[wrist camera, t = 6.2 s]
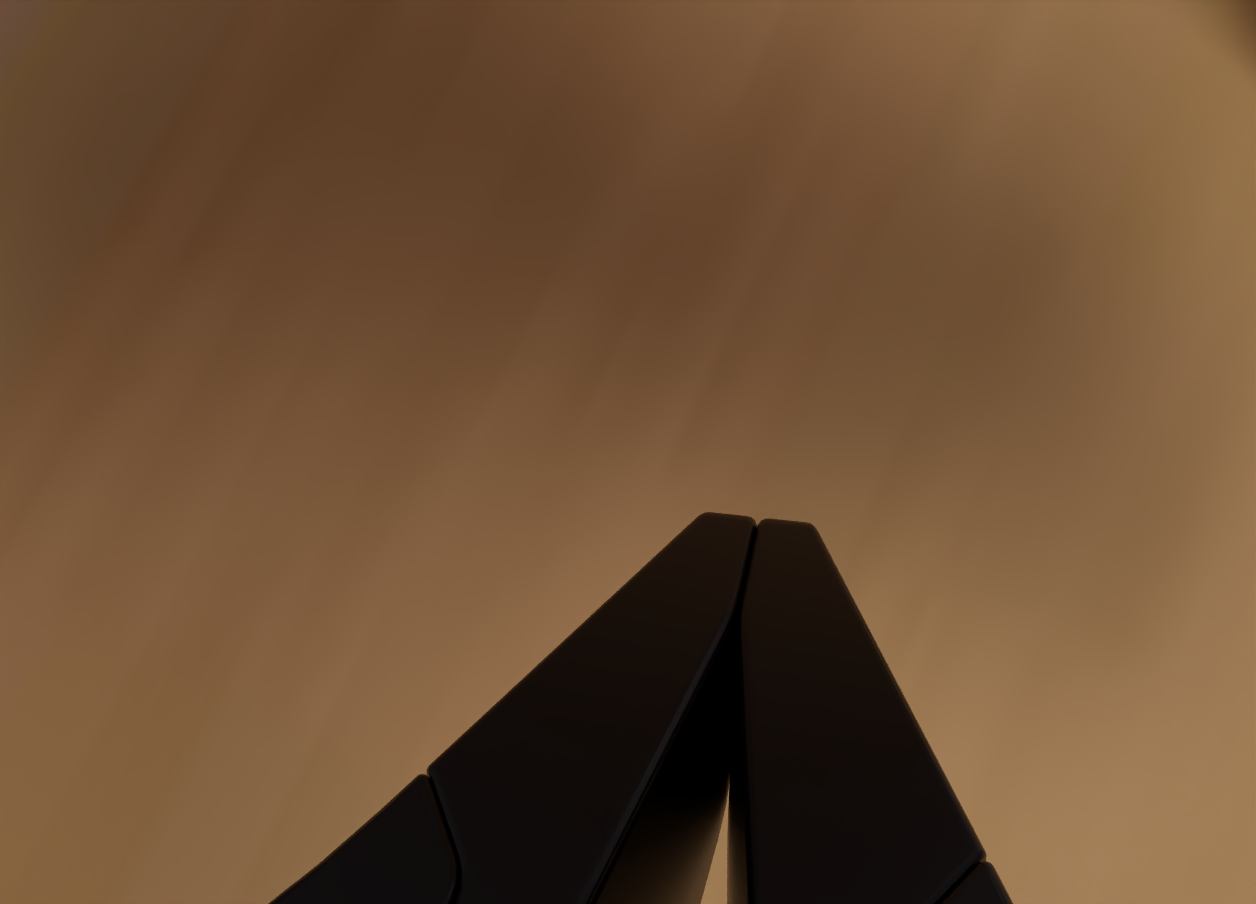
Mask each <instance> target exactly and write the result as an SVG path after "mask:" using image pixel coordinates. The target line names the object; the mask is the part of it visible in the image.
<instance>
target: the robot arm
mask: <svg viewBox="0 0 1256 904" xmlns="http://www.w3.org/2000/svg"><path fill="white" fill-rule="evenodd" d="M729 784H730V787H729ZM728 790H729V809H728V843H727V904H1013V902H1012V901H1011V899H1010V897H1009V895H1008V893H1007V891H1006V889H1005V887H1004V885H1003V883H1002V881H1001V879H1000V878H999V876H998V874H997V872H996V870H995V868H994V866H993V865H992V864H991V863H989V862H986V852H985V850H984V848H983V846H982V844H981V842H980V841H979V839H978V837H977V835H976V833H975V831H974V829H973V827H972V825H971V823H970V821H969V819H968V818H967V816H966V814H965V812H964V810H963V808H962V806H961V804H960V802H959V800H958V798H957V796H956V795H955V793H954V791H953V789H952V787H951V785H950V783H949V781H948V779H947V777H946V775H945V774H944V772H943V770H942V768H941V766H940V764H939V762H938V760H937V758H936V756H935V754H934V752H933V751H932V749H931V747H930V745H929V743H928V741H927V739H926V737H925V735H924V733H923V731H922V730H921V728H920V726H919V724H918V722H917V720H916V718H915V716H914V714H913V712H912V710H911V708H910V707H909V705H908V703H907V701H906V699H905V697H904V695H903V693H902V691H901V689H900V687H899V685H898V684H897V682H896V680H895V678H894V676H893V674H892V672H891V670H890V668H889V666H888V664H887V663H886V661H885V659H884V657H883V655H882V653H881V651H880V649H879V647H878V645H877V643H876V641H875V640H874V638H873V636H872V634H871V632H870V630H869V628H868V626H867V624H866V622H865V620H864V618H863V617H862V615H861V613H860V611H859V609H858V607H857V605H856V603H855V601H854V599H853V597H852V596H851V594H850V592H849V590H848V588H847V586H846V584H845V582H844V580H843V578H842V576H841V574H840V573H839V571H838V569H837V567H836V565H835V563H834V561H833V559H832V557H831V555H830V553H829V552H828V550H827V548H826V546H825V544H824V542H823V540H822V538H821V536H820V534H819V532H818V531H817V529H816V528H815V527H814V526H813V525H812V524H810V523H807V522H797V521H788V520H778V519H764V520H762V521H760V523H759V524H758V526H757V524H756V522H755V520H754V519H753V518H751V517H748V516H741V515H731V514H722V513H713V512H706V513H703V514H701V515H699V516H698V517H697V518H696V519H695V520H694V521H692V522H691V523H690V524H689V525H688V526H687V527H686V528H685V529H684V530H683V531H682V532H681V533H680V534H678V535H677V536H676V537H675V538H674V539H673V540H672V541H671V542H670V543H669V544H668V545H667V546H666V547H664V548H663V549H662V550H661V551H660V552H659V553H658V554H657V555H656V556H655V557H654V558H653V559H652V560H650V561H649V562H648V563H647V564H646V565H645V566H644V567H643V568H642V569H641V570H640V571H639V572H637V573H636V574H635V575H634V576H633V577H632V578H631V579H630V580H629V581H628V582H627V583H626V584H625V585H623V586H622V587H621V588H620V589H619V590H618V591H617V592H616V593H615V594H614V595H613V596H612V597H611V598H609V599H608V600H607V601H606V602H605V603H604V604H603V605H602V606H601V607H600V608H599V609H598V610H596V611H595V612H594V613H593V614H592V615H591V616H590V617H589V618H588V619H587V620H586V621H585V622H584V623H582V624H581V625H580V626H579V627H578V628H577V629H576V630H575V631H574V632H573V633H572V634H571V635H570V636H568V637H567V638H566V639H565V640H564V641H563V642H562V643H561V644H560V645H559V646H558V647H557V648H556V649H554V650H553V651H552V652H551V653H550V654H549V655H548V656H547V657H546V658H545V659H544V660H543V661H541V662H540V663H539V664H538V665H537V666H536V667H535V668H534V669H533V670H532V671H531V672H530V673H529V674H527V675H526V676H525V677H524V678H523V679H522V680H521V681H520V682H519V683H518V684H517V685H516V686H515V687H513V688H512V689H511V690H510V691H509V692H508V693H507V694H506V695H505V696H504V697H503V698H502V699H500V700H499V701H498V702H497V703H496V704H495V705H494V706H493V707H492V708H491V709H490V710H489V711H488V712H486V713H485V714H484V715H483V716H482V717H481V718H480V719H479V720H478V721H477V722H476V723H475V724H474V725H472V726H471V727H470V728H469V729H468V730H467V731H466V732H465V733H464V734H463V735H462V736H461V737H460V738H458V739H457V740H456V741H455V742H454V743H453V744H452V745H451V746H450V747H449V748H448V749H447V750H445V751H444V752H443V753H442V754H441V755H440V756H439V757H438V758H437V759H436V760H435V761H434V762H433V763H431V764H430V765H429V766H428V768H427V775H425V774H420V775H418V776H417V777H416V778H415V779H413V780H412V781H411V782H410V783H409V784H408V785H407V786H406V787H405V788H404V789H403V790H402V791H401V792H399V793H398V794H397V795H396V796H395V797H394V798H393V799H392V800H391V801H390V802H389V803H388V804H387V805H385V806H384V807H383V808H382V809H381V810H380V811H379V812H378V813H377V814H375V815H374V816H373V817H372V818H371V819H370V820H369V821H367V822H366V823H365V824H364V825H363V826H362V827H361V828H359V829H358V830H357V831H356V832H355V833H354V834H353V835H351V836H350V837H349V838H348V839H347V840H346V841H345V842H343V843H342V844H341V845H340V846H339V847H338V848H337V849H335V850H334V851H333V852H332V853H331V854H330V855H329V856H327V857H326V858H325V859H324V860H323V861H322V862H321V863H319V864H318V865H317V866H316V867H314V868H313V869H312V870H310V871H309V872H308V873H307V874H305V875H304V876H303V877H302V878H300V879H299V880H298V881H297V882H295V883H294V884H293V885H291V886H290V887H289V888H288V889H286V890H285V891H284V892H283V893H281V894H280V895H279V896H277V897H276V898H275V899H274V900H272V901H271V902H270V903H269V904H700V903H701V900H702V896H703V892H704V889H705V885H706V881H707V878H708V874H709V870H710V866H711V863H712V859H713V855H714V852H715V848H716V844H717V841H718V837H719V833H720V829H721V824H722V820H723V816H724V812H725V807H726V802H727V796H728Z"/></svg>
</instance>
